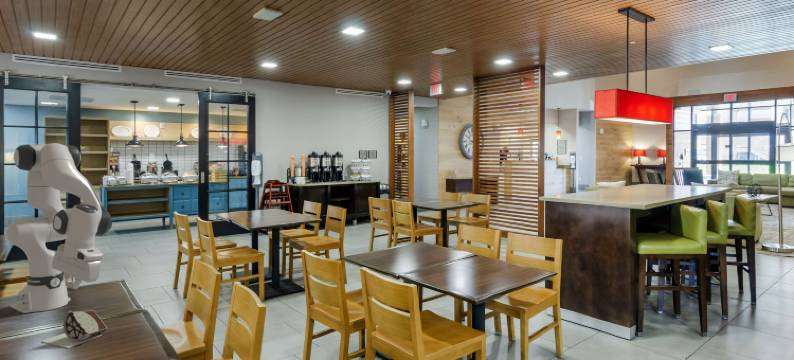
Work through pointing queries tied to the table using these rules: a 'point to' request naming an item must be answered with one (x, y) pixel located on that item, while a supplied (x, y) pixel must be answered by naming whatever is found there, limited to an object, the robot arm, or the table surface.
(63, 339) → the cream flat rectangular plate
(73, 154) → the robot arm
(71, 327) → the food container
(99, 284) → the table surface
